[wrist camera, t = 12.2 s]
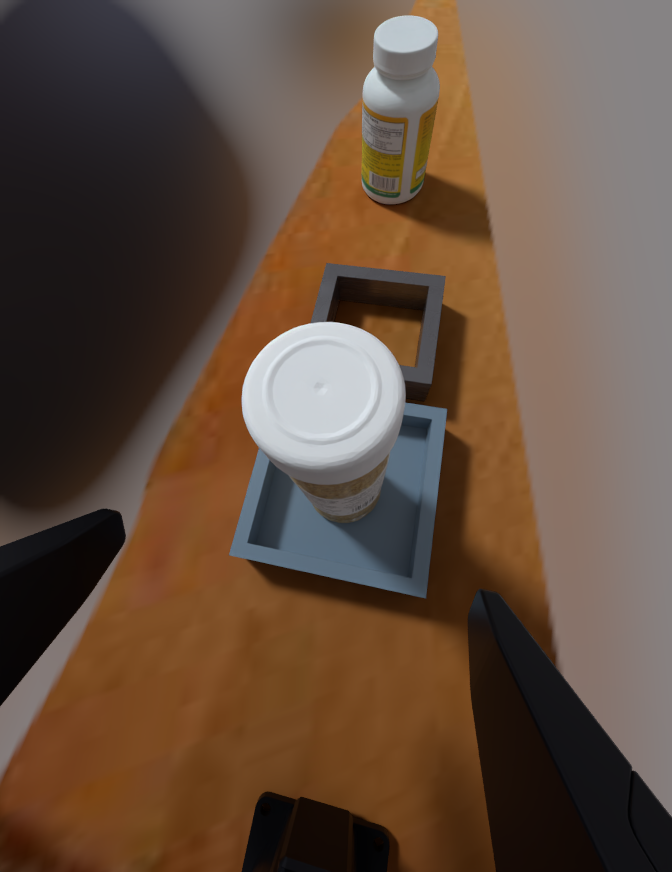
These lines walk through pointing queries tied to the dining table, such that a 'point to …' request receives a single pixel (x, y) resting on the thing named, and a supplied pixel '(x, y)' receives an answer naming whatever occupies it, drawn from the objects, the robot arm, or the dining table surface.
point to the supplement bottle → (399, 109)
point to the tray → (360, 540)
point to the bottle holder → (389, 292)
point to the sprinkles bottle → (327, 413)
